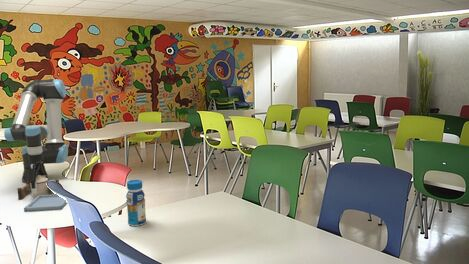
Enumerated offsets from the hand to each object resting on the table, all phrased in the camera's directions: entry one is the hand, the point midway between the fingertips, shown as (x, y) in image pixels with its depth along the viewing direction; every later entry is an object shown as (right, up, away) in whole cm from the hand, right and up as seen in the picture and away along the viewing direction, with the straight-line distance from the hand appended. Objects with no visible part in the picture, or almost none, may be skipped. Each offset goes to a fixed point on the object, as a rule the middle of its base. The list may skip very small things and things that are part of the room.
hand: (39, 190), depth 226 cm
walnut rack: (0, -3, +1) cm, 3 cm away
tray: (+13, -5, -15) cm, 20 cm away
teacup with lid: (0, -3, +1) cm, 3 cm away
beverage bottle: (+66, -9, -43) cm, 80 cm away
